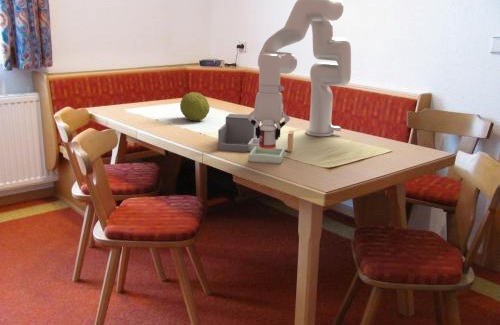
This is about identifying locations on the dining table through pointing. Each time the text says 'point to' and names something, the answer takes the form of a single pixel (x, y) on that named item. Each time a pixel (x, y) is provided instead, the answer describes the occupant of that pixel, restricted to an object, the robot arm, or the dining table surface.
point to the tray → (267, 155)
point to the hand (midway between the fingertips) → (267, 138)
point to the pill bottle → (267, 135)
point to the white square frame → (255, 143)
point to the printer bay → (236, 133)
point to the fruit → (194, 106)
